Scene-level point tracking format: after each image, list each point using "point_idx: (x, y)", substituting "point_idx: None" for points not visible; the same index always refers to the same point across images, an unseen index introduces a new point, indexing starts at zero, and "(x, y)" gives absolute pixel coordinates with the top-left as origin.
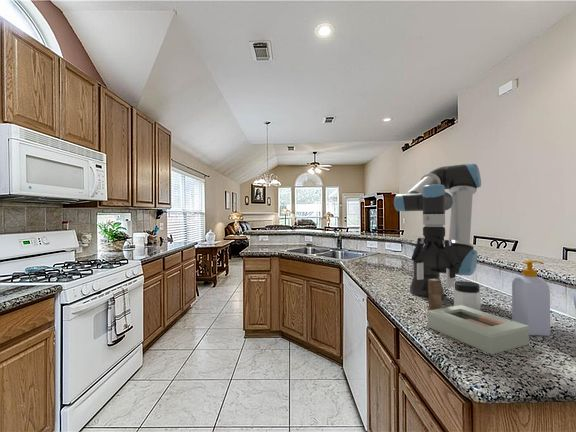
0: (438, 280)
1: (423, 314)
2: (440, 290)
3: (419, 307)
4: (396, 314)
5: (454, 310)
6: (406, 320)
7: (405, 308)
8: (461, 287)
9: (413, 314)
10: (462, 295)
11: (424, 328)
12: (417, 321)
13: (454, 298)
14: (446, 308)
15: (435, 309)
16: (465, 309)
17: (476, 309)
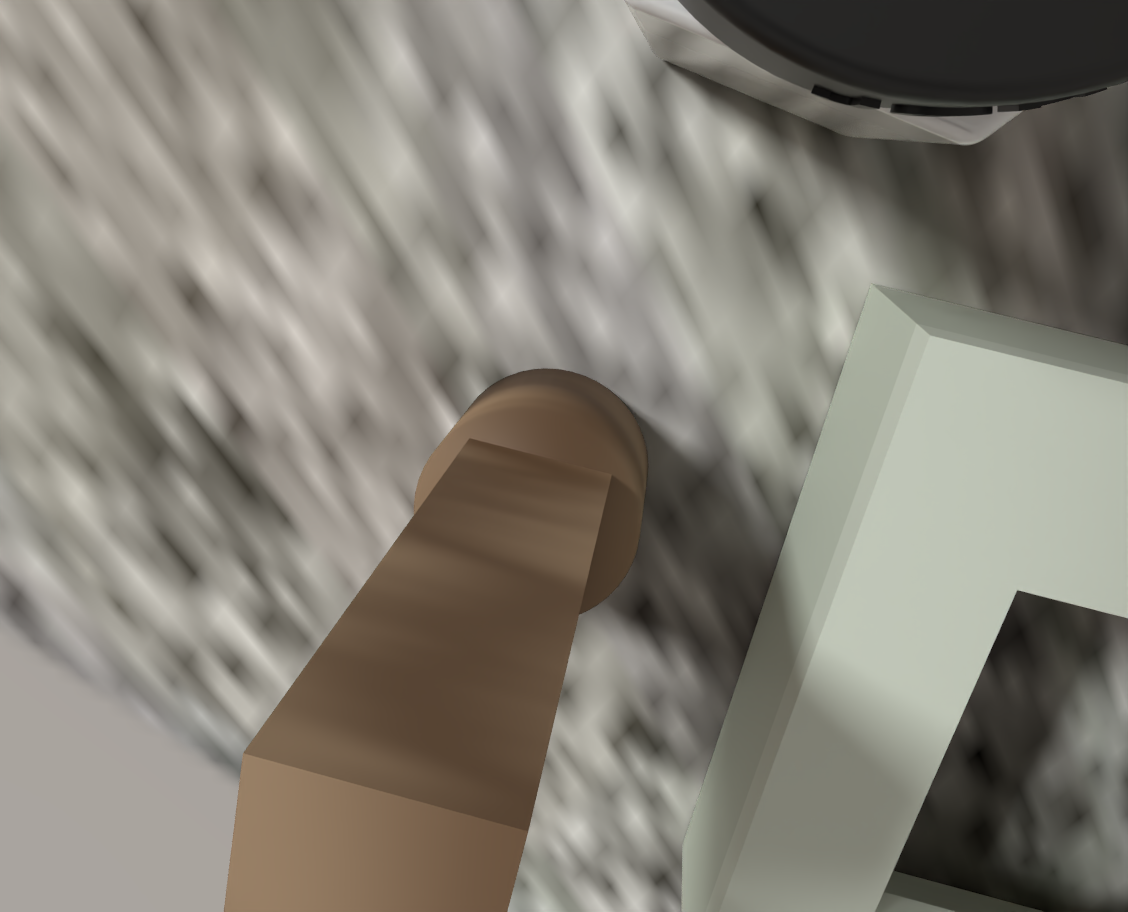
0: (494, 908)
1: (382, 479)
2: (566, 656)
3: (127, 209)
4: (196, 736)
5: (957, 716)
6: None
7: (66, 433)
8: (956, 106)
9: (308, 582)
10: (935, 140)
11: None
12: None
13: (661, 41)
14: (827, 744)
15: (729, 901)
16: (1107, 568)
17: None
